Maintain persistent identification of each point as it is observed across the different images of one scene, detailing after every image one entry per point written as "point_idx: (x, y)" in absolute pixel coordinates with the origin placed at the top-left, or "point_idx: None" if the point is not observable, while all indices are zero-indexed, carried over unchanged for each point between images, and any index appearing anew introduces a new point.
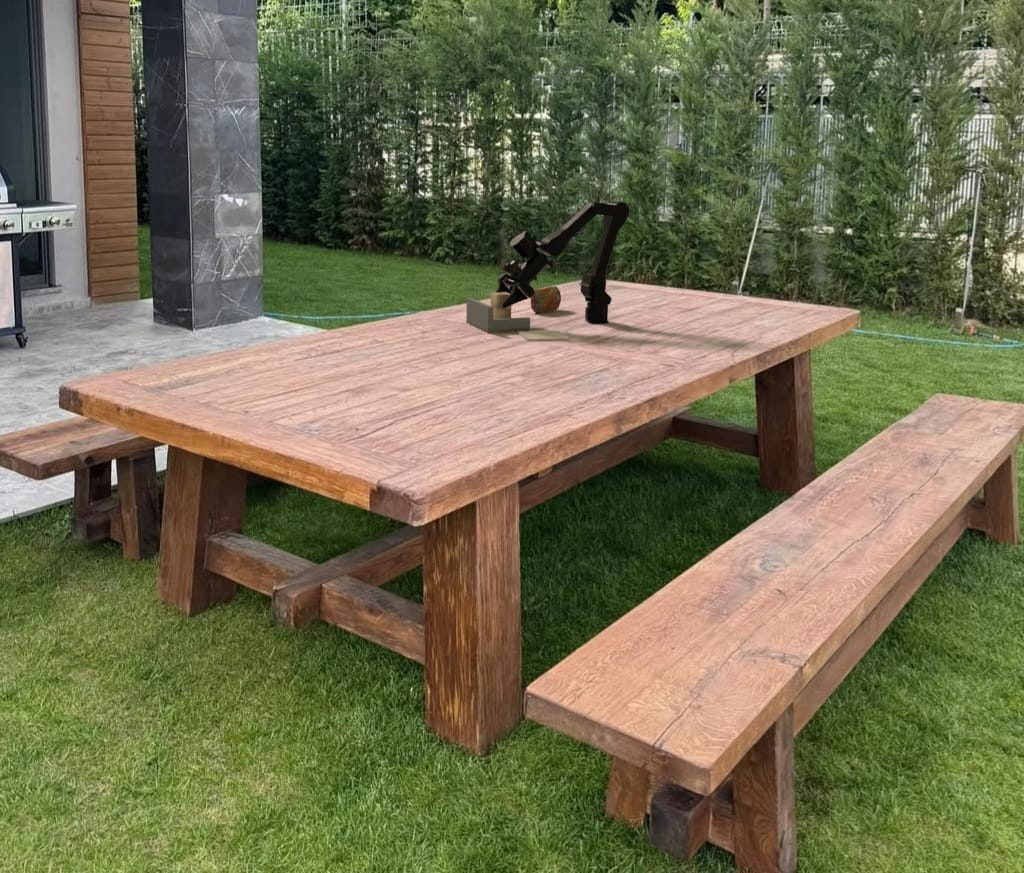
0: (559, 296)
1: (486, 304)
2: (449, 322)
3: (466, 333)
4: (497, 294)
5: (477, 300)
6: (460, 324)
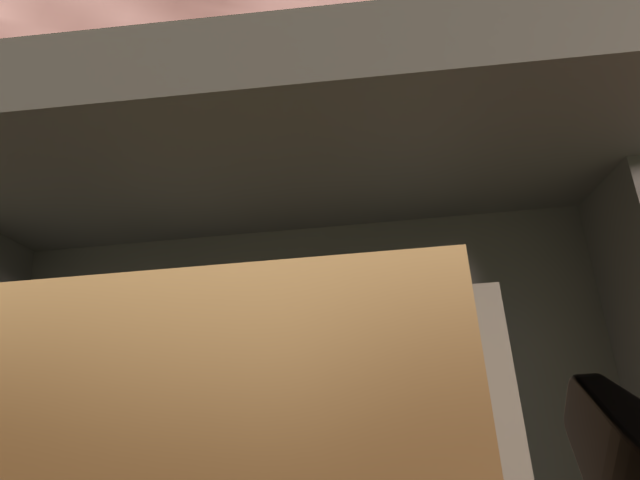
0: None
1: (3, 100)
2: None
3: None
4: (71, 336)
5: (478, 61)
6: None
